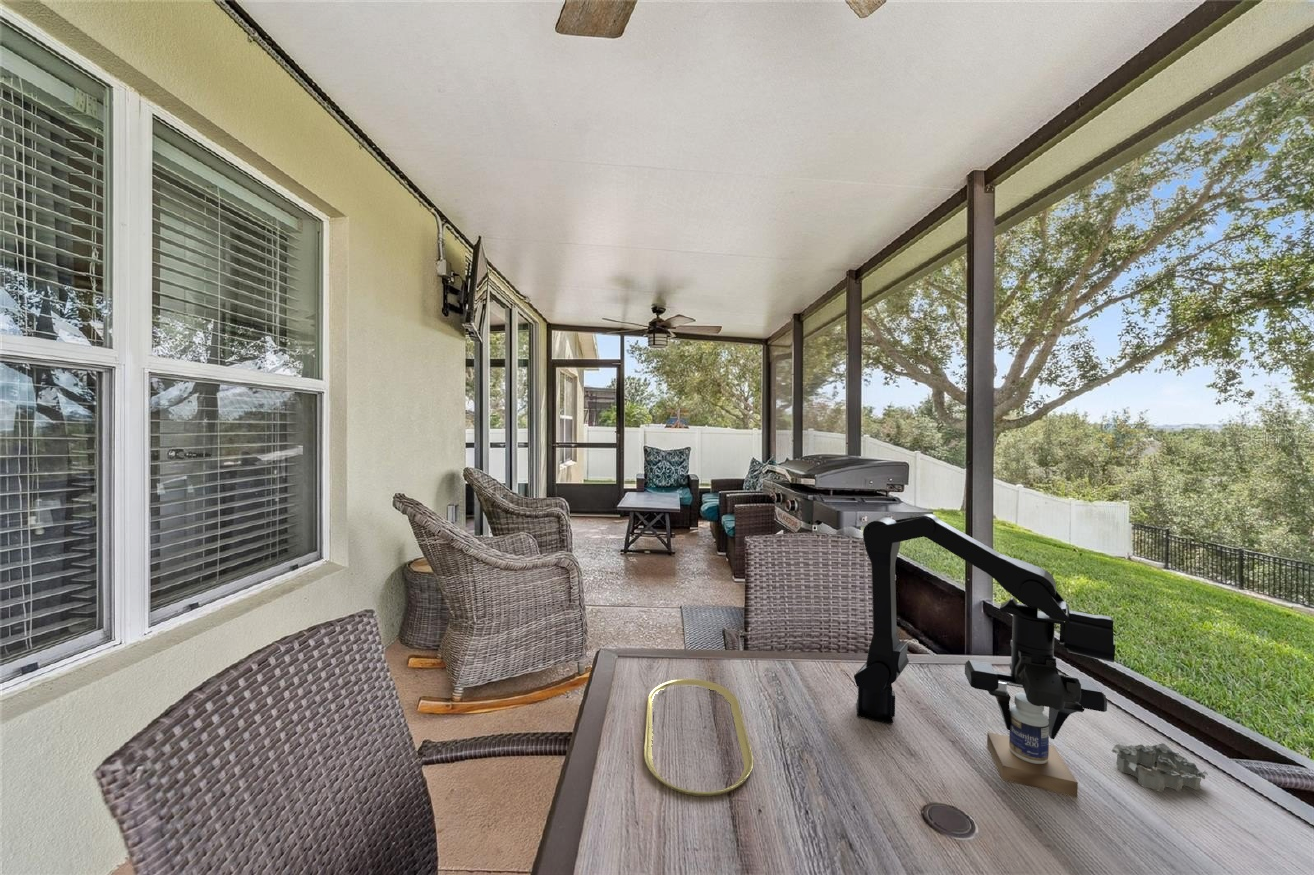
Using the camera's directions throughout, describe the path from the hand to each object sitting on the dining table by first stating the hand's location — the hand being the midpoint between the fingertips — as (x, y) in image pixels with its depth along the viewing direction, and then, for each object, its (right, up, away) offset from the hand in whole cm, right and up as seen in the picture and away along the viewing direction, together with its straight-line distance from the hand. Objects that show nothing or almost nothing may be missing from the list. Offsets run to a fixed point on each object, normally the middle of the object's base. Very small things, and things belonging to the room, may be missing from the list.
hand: (1029, 733), depth 85 cm
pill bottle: (0, -4, 0) cm, 4 cm away
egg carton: (+21, -7, -1) cm, 22 cm away
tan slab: (0, -6, 0) cm, 6 cm away
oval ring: (-57, -6, +9) cm, 58 cm away
